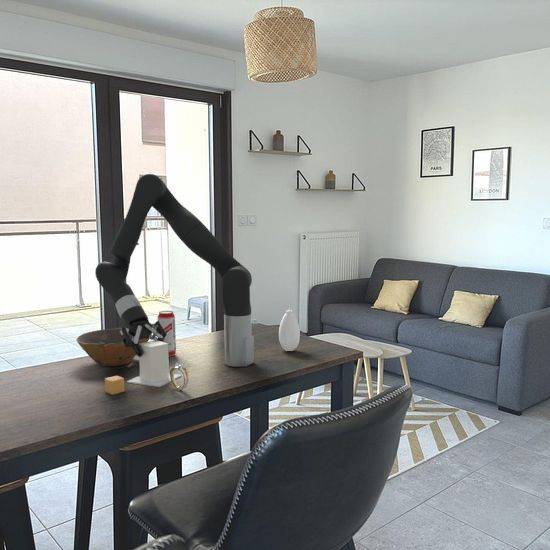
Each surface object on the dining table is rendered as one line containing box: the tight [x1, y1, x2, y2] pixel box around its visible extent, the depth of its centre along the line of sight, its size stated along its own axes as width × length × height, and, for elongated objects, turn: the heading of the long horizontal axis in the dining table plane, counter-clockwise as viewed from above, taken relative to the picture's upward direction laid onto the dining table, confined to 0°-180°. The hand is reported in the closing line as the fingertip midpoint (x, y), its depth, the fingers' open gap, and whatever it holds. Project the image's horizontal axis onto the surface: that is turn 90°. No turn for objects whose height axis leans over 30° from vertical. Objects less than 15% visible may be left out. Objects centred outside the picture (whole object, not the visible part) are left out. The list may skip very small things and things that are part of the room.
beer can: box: [157, 310, 177, 358], centre depth 203 cm, size 6×6×16 cm
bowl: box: [76, 327, 153, 367], centre depth 194 cm, size 25×25×10 cm
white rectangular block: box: [138, 340, 170, 382], centre depth 174 cm, size 6×6×11 cm
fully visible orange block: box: [104, 375, 126, 396], centre depth 163 cm, size 4×4×4 cm
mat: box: [126, 372, 183, 388], centre depth 175 cm, size 12×12×1 cm
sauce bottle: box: [278, 303, 301, 352], centre depth 207 cm, size 8×8×18 cm
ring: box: [169, 362, 189, 391], centre depth 164 cm, size 7×3×8 cm, turn 44°
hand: (153, 352), depth 174 cm, fingers open, 8 cm apart
